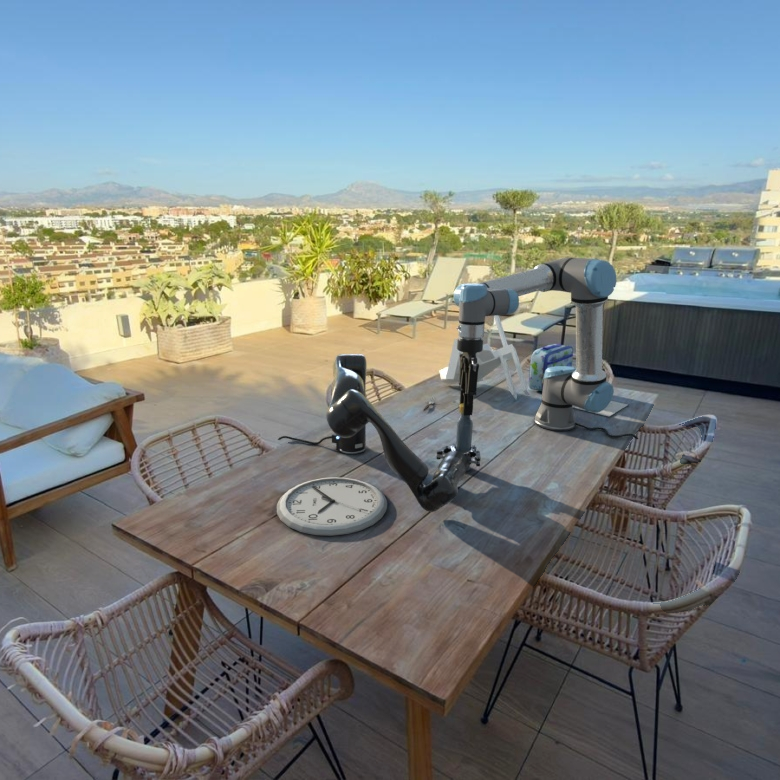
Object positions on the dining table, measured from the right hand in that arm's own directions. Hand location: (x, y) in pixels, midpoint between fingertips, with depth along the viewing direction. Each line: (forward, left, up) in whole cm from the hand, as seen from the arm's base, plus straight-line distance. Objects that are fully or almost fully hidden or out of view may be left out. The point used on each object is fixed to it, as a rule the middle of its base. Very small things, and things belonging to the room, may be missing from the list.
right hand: (465, 412), depth 161 cm
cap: (0, 0, +2) cm, 2 cm away
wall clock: (+35, +29, -19) cm, 49 cm away
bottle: (0, 0, -19) cm, 19 cm away
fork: (+13, -58, -19) cm, 63 cm away
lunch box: (-43, -94, -19) cm, 105 cm away
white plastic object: (-9, -82, -19) cm, 85 cm away
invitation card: (-61, -70, -19) cm, 95 cm away
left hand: (-1, -3, -13) cm, 13 cm away
